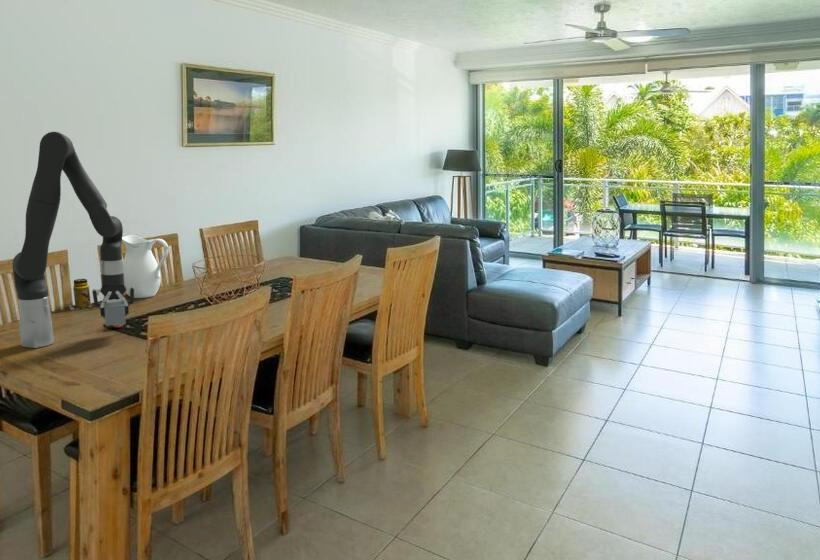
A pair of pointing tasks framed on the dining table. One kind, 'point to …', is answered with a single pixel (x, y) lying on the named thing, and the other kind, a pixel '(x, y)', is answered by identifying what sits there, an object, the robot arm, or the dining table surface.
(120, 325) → the ball
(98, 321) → the dining table surface
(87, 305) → the condiment
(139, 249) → the pitcher
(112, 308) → the grey rectangular block
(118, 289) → the robot arm
